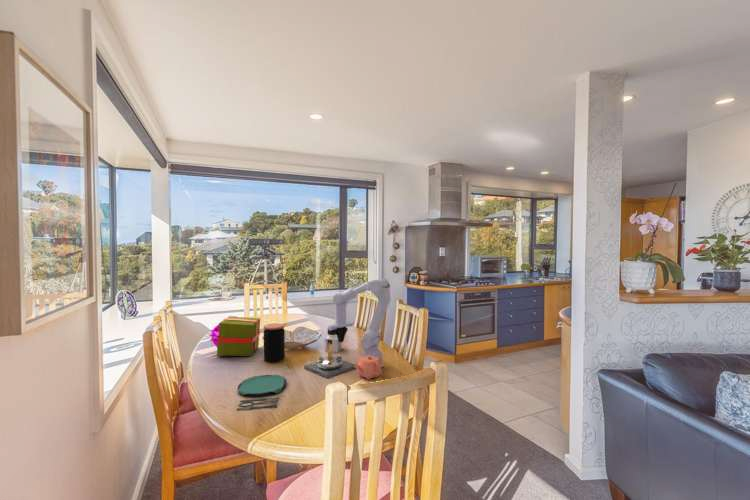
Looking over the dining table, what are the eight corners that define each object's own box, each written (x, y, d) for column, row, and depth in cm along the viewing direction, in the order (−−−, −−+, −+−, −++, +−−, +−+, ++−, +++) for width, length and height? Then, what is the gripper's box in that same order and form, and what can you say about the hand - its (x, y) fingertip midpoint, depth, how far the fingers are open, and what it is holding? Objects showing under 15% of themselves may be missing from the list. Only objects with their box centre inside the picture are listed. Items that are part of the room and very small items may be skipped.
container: (337, 352, 195) (337, 329, 194) (324, 351, 196) (324, 328, 196) (341, 348, 202) (341, 326, 202) (329, 347, 204) (329, 325, 203)
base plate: (356, 367, 170) (356, 364, 170) (327, 378, 157) (327, 374, 157) (332, 359, 182) (332, 356, 182) (304, 368, 169) (304, 365, 169)
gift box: (258, 353, 204) (215, 351, 202) (262, 317, 208) (219, 315, 205) (250, 358, 184) (201, 356, 182) (254, 318, 187) (206, 316, 185)
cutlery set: (288, 377, 159) (288, 372, 159) (282, 408, 129) (282, 402, 129) (243, 380, 155) (242, 375, 155) (226, 414, 126) (225, 408, 126)
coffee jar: (287, 356, 188) (287, 323, 187) (280, 363, 177) (280, 328, 177) (268, 355, 189) (268, 323, 189) (260, 362, 178) (260, 327, 178)
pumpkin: (354, 381, 153) (353, 359, 153) (359, 371, 165) (358, 351, 165) (380, 382, 152) (379, 360, 151) (383, 372, 163) (383, 352, 163)
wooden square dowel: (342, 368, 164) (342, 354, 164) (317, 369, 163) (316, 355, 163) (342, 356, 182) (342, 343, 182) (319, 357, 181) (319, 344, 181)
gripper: (347, 313, 190) (347, 337, 190) (324, 316, 180) (325, 342, 180) (355, 315, 184) (355, 340, 185) (332, 318, 175) (332, 345, 175)
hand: (340, 341), depth 182 cm, fingers closed
